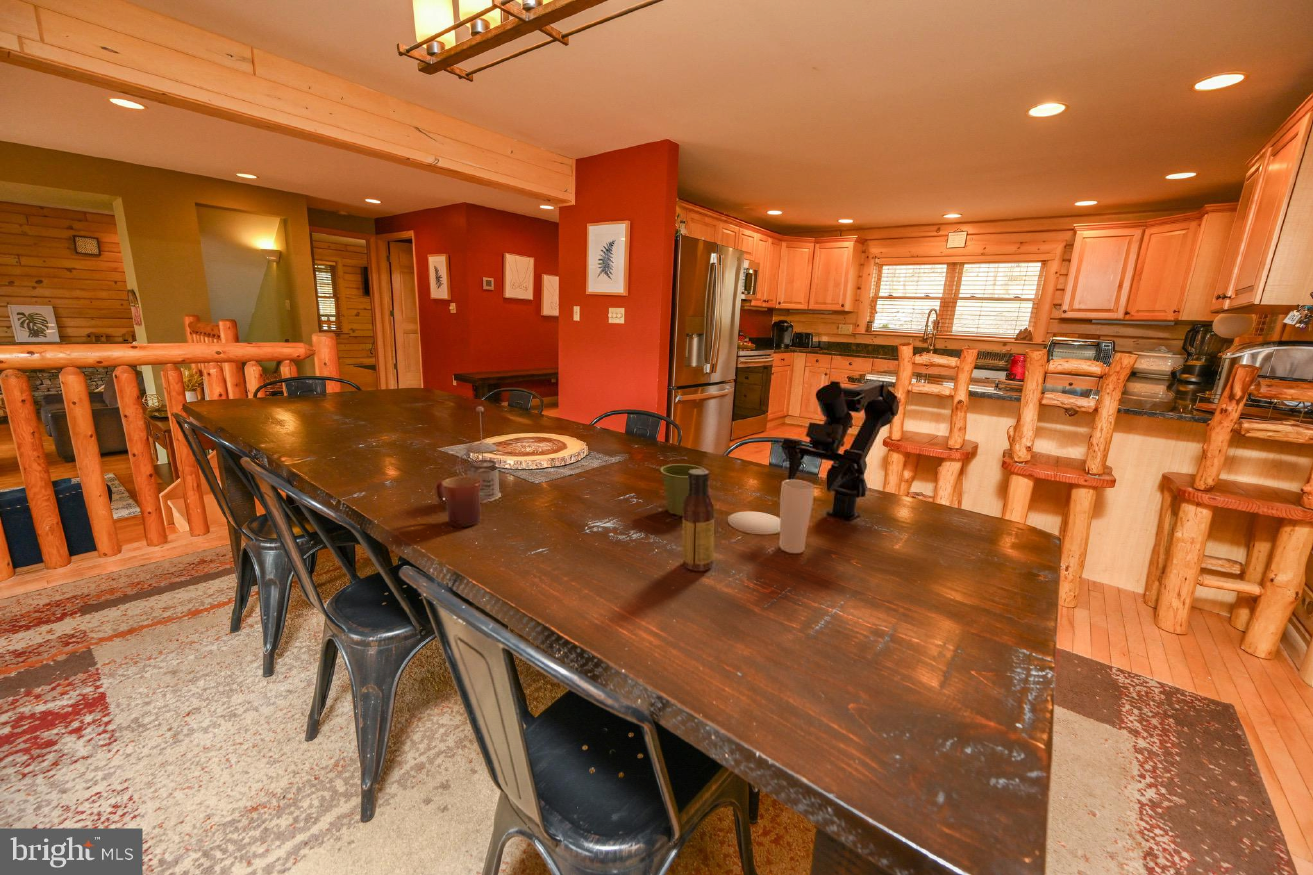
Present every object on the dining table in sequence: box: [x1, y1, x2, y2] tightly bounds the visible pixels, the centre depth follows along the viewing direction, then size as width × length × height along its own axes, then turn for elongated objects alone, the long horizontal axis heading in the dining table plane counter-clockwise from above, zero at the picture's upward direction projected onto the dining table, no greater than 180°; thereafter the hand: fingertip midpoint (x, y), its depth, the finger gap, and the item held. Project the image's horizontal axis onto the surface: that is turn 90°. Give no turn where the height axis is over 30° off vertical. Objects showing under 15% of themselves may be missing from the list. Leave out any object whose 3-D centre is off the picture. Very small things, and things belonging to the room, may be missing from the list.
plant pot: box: [660, 463, 706, 517], centre depth 128 cm, size 12×12×11 cm
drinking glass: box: [778, 479, 815, 554], centre depth 108 cm, size 7×7×15 cm
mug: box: [435, 475, 483, 529], centre depth 117 cm, size 12×9×10 cm
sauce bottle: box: [681, 468, 715, 572], centre depth 98 cm, size 7×6×20 cm
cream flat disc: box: [727, 510, 780, 536], centre depth 124 cm, size 14×14×1 cm
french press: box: [455, 406, 502, 502], centre depth 132 cm, size 10×12×25 cm
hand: (808, 486), depth 111 cm, fingers open, 9 cm apart
